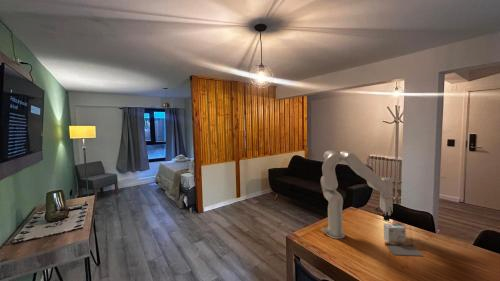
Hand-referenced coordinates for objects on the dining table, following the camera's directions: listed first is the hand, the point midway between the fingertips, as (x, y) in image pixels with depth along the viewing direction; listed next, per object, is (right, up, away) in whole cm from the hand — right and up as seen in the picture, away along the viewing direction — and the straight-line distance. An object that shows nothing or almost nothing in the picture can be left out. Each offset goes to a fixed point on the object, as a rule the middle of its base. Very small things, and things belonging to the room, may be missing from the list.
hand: (386, 220), depth 152 cm
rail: (-2, -10, -16) cm, 19 cm away
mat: (-3, -11, -22) cm, 24 cm away
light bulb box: (-1, -10, -10) cm, 15 cm away
